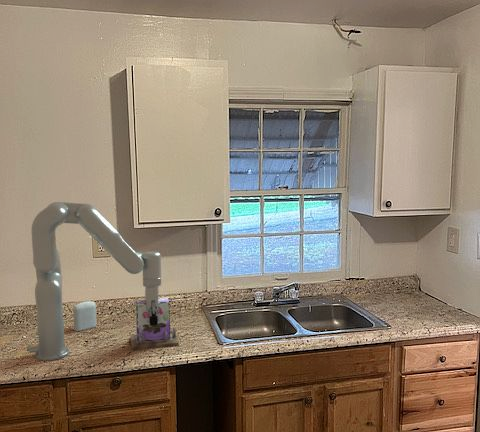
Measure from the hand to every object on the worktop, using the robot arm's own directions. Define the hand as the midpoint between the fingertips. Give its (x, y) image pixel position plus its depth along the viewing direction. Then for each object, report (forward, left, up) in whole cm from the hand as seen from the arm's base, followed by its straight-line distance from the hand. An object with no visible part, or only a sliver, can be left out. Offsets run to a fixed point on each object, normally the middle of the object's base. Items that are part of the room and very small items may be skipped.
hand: (152, 321), depth 205 cm
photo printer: (-29, +25, -9) cm, 39 cm away
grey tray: (0, 0, -9) cm, 9 cm away
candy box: (0, 0, -8) cm, 8 cm away
